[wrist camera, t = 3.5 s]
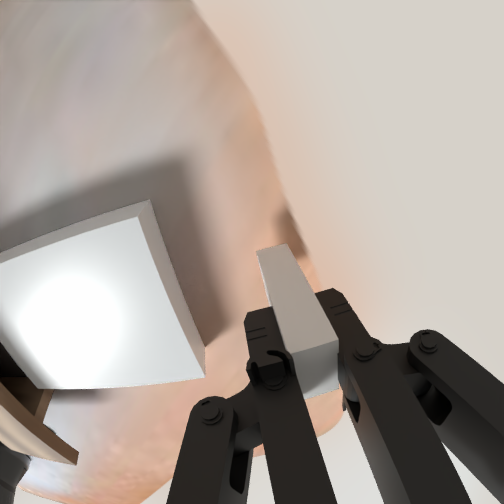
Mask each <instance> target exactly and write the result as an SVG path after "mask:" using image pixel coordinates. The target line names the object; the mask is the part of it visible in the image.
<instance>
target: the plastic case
mask: <svg viewBox="0 0 504 504" xmlns="http://www.w3.org/2000/svg"><path fill="white" fill-rule="evenodd" d="M0 342H1V343H2V345H3V346H4V347H5V349H6V350H7V351H8V353H9V354H10V355H11V357H12V358H13V359H14V361H15V362H16V363H17V364H18V366H19V367H20V368H21V369H22V371H23V372H24V373H25V374H26V375H27V377H28V378H29V379H30V380H31V381H32V382H33V384H34V385H35V386H36V387H37V388H38V389H97V388H117V387H130V386H142V385H152V384H161V383H169V382H177V381H184V380H191V379H198V378H204V377H206V376H205V346H204V344H203V342H202V339H201V337H200V335H199V332H198V330H197V328H196V325H195V323H194V320H193V318H192V316H191V313H190V311H189V308H188V306H187V303H186V301H185V298H184V296H183V293H182V290H181V288H180V285H179V282H178V280H177V277H176V274H175V272H174V269H173V266H172V264H171V261H170V258H169V255H168V252H167V250H166V247H165V244H164V241H163V238H162V235H161V232H160V229H159V226H158V223H157V220H156V217H155V214H154V210H153V207H152V204H151V201H150V199H149V200H146V201H142V202H139V203H136V204H132V205H129V206H126V207H122V208H119V209H116V210H113V211H110V212H107V213H104V214H101V215H98V216H95V217H92V218H89V219H86V220H83V221H80V222H77V223H74V224H71V225H69V226H66V227H63V228H61V229H58V230H55V231H52V232H50V233H47V234H45V235H42V236H40V237H37V238H34V239H32V240H30V241H27V242H25V243H22V244H20V245H17V246H15V247H13V248H10V249H8V250H6V251H3V252H1V253H0Z"/></svg>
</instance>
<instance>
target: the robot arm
mask: <svg viewBox="0 0 504 504" xmlns="http://www.w3.org/2000/svg"><path fill="white" fill-rule="evenodd" d="M256 254H257V258H258V262H259V266H260V270H261V274H262V278H263V283H264V287H265V291H266V295H267V299H268V302H269V305H270V307H267V308H263V309H259V310H255V311H251V312H248V313H247V315H246V318H245V320H244V326H245V332H246V338H247V344H248V350H249V356H250V359H249V360H248V362H247V366H246V371H247V373H248V376H249V378H250V382H249V384H248V385H247V387H246V388H245V389H244V390H242V391H241V392H239V393H237V394H236V395H234V396H232V397H230V398H228V399H225V398H223V397H218V396H212V397H206V398H204V399H202V400H200V401H199V402H198V403H197V404H196V405H194V407H193V409H192V411H191V413H190V416H189V420H188V423H187V427H186V431H185V434H184V438H183V442H182V445H181V449H180V453H179V457H178V460H177V464H176V468H175V472H174V476H173V479H172V483H171V487H170V491H169V495H168V499H167V503H166V504H247V496H248V488H249V481H250V473H251V465H252V457H253V449H254V448H255V447H257V446H259V445H261V444H262V443H263V445H264V450H265V455H266V460H267V466H268V471H269V475H270V480H271V486H272V491H273V495H274V500H275V504H337V501H336V498H335V494H334V491H333V488H332V485H331V482H330V479H329V476H328V472H327V469H326V466H325V463H324V460H323V456H322V453H321V450H320V447H319V444H318V441H317V438H316V434H315V431H314V428H313V425H312V422H311V419H310V416H309V413H308V409H307V406H306V403H305V399H308V398H311V397H315V396H318V395H321V394H324V393H327V392H330V391H334V390H336V389H339V383H340V386H341V388H342V390H343V403H342V407H343V411H345V410H346V408H347V410H348V413H349V415H350V418H351V420H352V423H353V425H354V428H355V430H356V432H357V435H358V437H359V440H360V442H361V445H362V447H363V450H364V452H365V455H366V457H367V460H368V462H369V465H370V468H371V470H372V473H373V475H374V478H375V480H376V483H377V486H378V488H379V491H380V493H381V496H382V499H383V502H384V504H472V503H471V500H470V498H469V496H468V494H467V492H466V490H465V487H464V485H463V483H462V481H461V479H460V477H459V475H458V473H457V471H456V469H455V467H454V465H453V463H452V461H451V459H450V457H449V455H448V453H447V451H446V449H445V448H444V446H443V444H442V442H443V443H444V445H445V446H446V447H447V448H448V449H449V450H450V451H451V452H452V453H453V454H454V455H455V456H456V457H457V458H458V459H459V460H460V461H461V462H462V463H463V464H464V465H465V466H466V467H467V468H468V469H469V470H470V471H471V473H472V474H473V475H474V476H475V477H476V478H477V479H478V480H479V481H480V482H481V483H482V484H483V485H484V486H485V487H486V488H487V489H488V490H489V491H490V492H491V493H492V495H493V496H494V497H495V498H496V499H497V500H498V501H499V502H500V503H501V504H504V384H503V383H502V382H500V381H499V380H498V379H497V378H496V377H494V376H493V375H492V374H491V373H490V372H488V371H487V370H486V369H485V368H484V367H482V366H481V365H480V364H478V363H477V362H476V361H475V360H474V359H472V358H471V357H470V356H469V355H467V354H466V353H465V352H463V351H462V350H461V349H460V348H459V347H457V346H456V345H455V344H453V343H452V342H451V341H449V340H448V339H447V338H446V337H444V336H443V335H442V334H440V333H438V332H437V331H434V330H428V329H427V330H420V331H419V332H417V333H415V334H414V335H413V336H412V337H411V339H410V342H409V343H402V344H392V345H391V344H383V343H381V342H380V341H379V340H377V339H375V338H373V337H371V336H370V335H369V334H368V332H367V331H366V329H365V327H364V326H363V324H362V323H361V321H360V320H359V319H358V317H357V315H356V313H355V312H354V311H353V310H352V307H351V306H350V304H348V301H347V300H346V298H345V297H344V295H343V294H342V293H340V292H339V291H337V290H335V289H334V288H331V289H328V290H324V291H321V292H318V293H314V292H313V290H312V288H311V286H310V285H309V283H308V281H307V279H306V277H305V275H304V274H303V272H302V270H301V268H300V266H299V265H298V263H297V261H296V259H295V257H294V256H293V254H292V252H291V250H290V248H289V247H288V245H287V243H285V244H281V245H277V246H274V247H270V248H266V249H262V250H258V251H256ZM441 441H442V442H441ZM29 465H30V459H29V458H28V457H27V456H26V455H25V454H23V453H20V452H17V451H14V450H11V449H10V448H8V447H7V446H6V445H4V444H3V443H2V442H1V441H0V504H13V502H14V495H15V489H16V486H17V484H18V483H19V481H20V480H21V479H22V477H23V476H24V474H25V473H26V471H27V470H28V469H29Z"/></svg>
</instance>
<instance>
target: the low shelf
mask: <svg viewBox="0 0 504 504" xmlns="http://www.w3.org/2000/svg"><path fill="white" fill-rule="evenodd" d="M53 392H54V389H38V388H37V387H36V386H35V385H34V384H33V382H32V381H31V380H30V379H29V378H28V377H0V441H1V442H2V443H3V444H4V445H6V446H7V447H8V448H10V449H11V450H14V451H17V452H20V453H23V454H27V455H30V456H34V457H38V458H42V459H46V460H51V461H55V462H60V463H65V464H71V465H77V460H78V455H79V452H78V451H76V450H75V449H74V448H72V447H71V446H70V445H68V444H67V443H66V442H64V441H63V440H62V439H61V438H59V437H58V436H57V435H55V434H54V433H53V432H52V431H51V430H49V429H48V428H47V427H46V426H45V425H44V424H42V423H43V420H44V417H45V414H46V411H47V408H48V405H49V403H50V400H51V397H52V394H53Z"/></svg>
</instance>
